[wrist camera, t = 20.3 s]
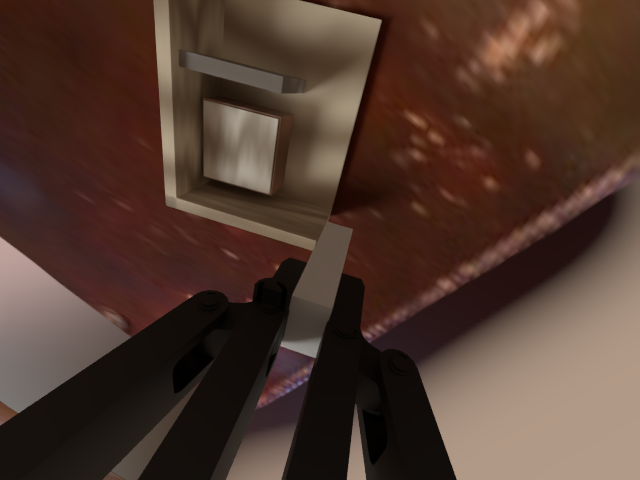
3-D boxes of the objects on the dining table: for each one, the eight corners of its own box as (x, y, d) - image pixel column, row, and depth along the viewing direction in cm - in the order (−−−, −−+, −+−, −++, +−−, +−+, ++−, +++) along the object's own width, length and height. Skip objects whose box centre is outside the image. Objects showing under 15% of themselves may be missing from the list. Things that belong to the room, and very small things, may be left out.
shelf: (219, -17, 27) (149, -62, 19) (381, 22, 25) (379, -9, 18) (213, 181, 37) (166, 205, 29) (330, 216, 35) (313, 251, 28)
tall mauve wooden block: (293, 114, 30) (223, 96, 30) (280, 117, 26) (201, 97, 27) (283, 185, 34) (221, 168, 34) (270, 196, 30) (202, 177, 31)
